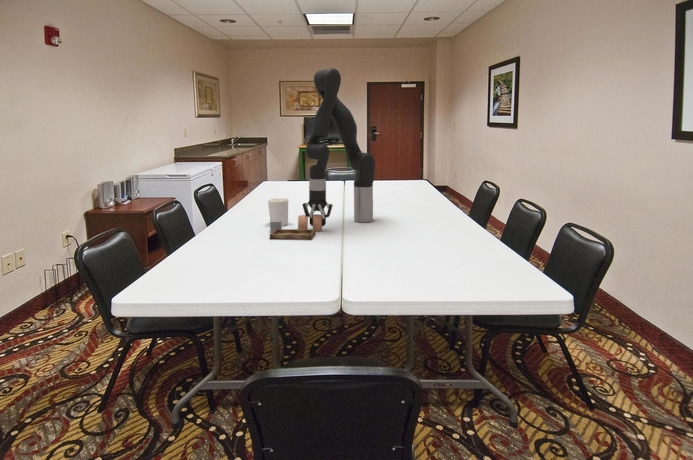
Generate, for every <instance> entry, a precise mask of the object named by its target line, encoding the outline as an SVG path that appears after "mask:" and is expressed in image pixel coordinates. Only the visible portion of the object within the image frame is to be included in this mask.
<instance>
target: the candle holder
mask: <svg viewBox="0 0 693 460" xmlns="http://www.w3.org/2000/svg"><path fill="white" fill-rule="evenodd" d="M267 203H268V205H267V206H268V212H269V221H270V220H276V219H281V226H282V227H284V226H287V225H288V224H289V199H288V198H286V197H285V198H284V197H277V198H275V197H274V198H270V199H268V200H267Z"/></svg>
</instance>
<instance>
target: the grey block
mask: <svg viewBox="0 0 693 460" xmlns="http://www.w3.org/2000/svg"><path fill="white" fill-rule="evenodd" d="M269 226H270V227H269V229H270V230H269V231H270V234H271V233H272V232H273V231H274V230H275V229H283V228H282V227H283V226H281V219H276V220H270V219H269Z"/></svg>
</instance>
